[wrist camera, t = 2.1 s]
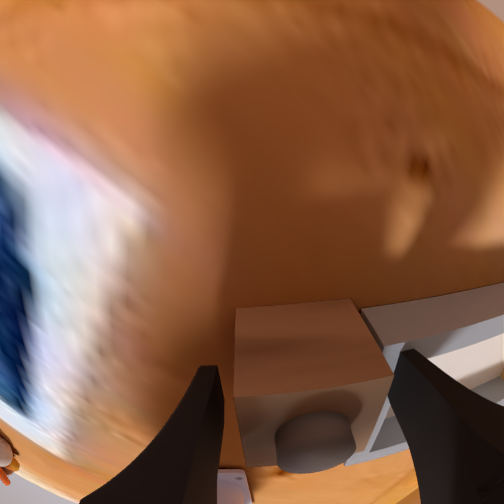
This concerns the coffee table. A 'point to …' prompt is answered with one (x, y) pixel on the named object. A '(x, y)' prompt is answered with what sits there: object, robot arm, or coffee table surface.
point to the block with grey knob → (306, 384)
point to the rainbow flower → (7, 461)
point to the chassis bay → (439, 349)
